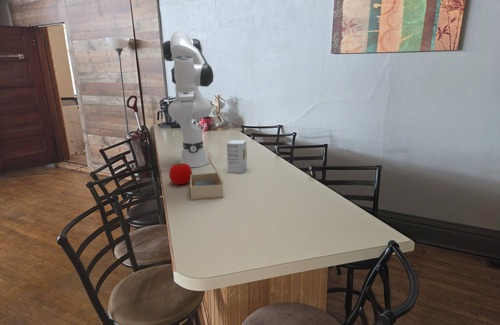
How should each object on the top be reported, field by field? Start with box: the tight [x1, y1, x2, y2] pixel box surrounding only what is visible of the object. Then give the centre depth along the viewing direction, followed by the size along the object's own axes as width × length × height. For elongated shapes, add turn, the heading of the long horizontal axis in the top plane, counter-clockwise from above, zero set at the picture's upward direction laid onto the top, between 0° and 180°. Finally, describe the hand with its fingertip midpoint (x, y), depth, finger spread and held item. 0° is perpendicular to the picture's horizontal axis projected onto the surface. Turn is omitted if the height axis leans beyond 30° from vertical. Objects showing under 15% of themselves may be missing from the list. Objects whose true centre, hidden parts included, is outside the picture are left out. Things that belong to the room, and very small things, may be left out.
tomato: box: [168, 162, 193, 185], centre depth 162 cm, size 11×12×10 cm
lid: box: [204, 147, 224, 185], centre depth 149 cm, size 18×14×1 cm
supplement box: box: [226, 139, 248, 174], centre depth 180 cm, size 10×9×17 cm
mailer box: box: [189, 172, 224, 201], centre depth 151 cm, size 18×14×6 cm
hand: (188, 126), depth 142 cm, fingers open, 3 cm apart
